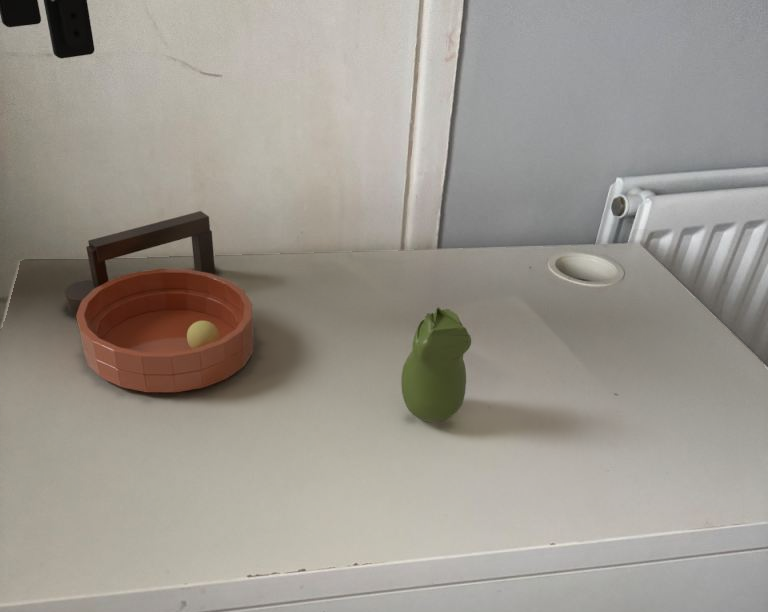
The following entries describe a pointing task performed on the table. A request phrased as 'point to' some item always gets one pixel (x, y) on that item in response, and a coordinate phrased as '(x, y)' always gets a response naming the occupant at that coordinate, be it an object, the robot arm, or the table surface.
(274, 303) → the table surface
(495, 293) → the table surface
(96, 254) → the ladle
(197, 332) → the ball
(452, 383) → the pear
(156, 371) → the bowl
